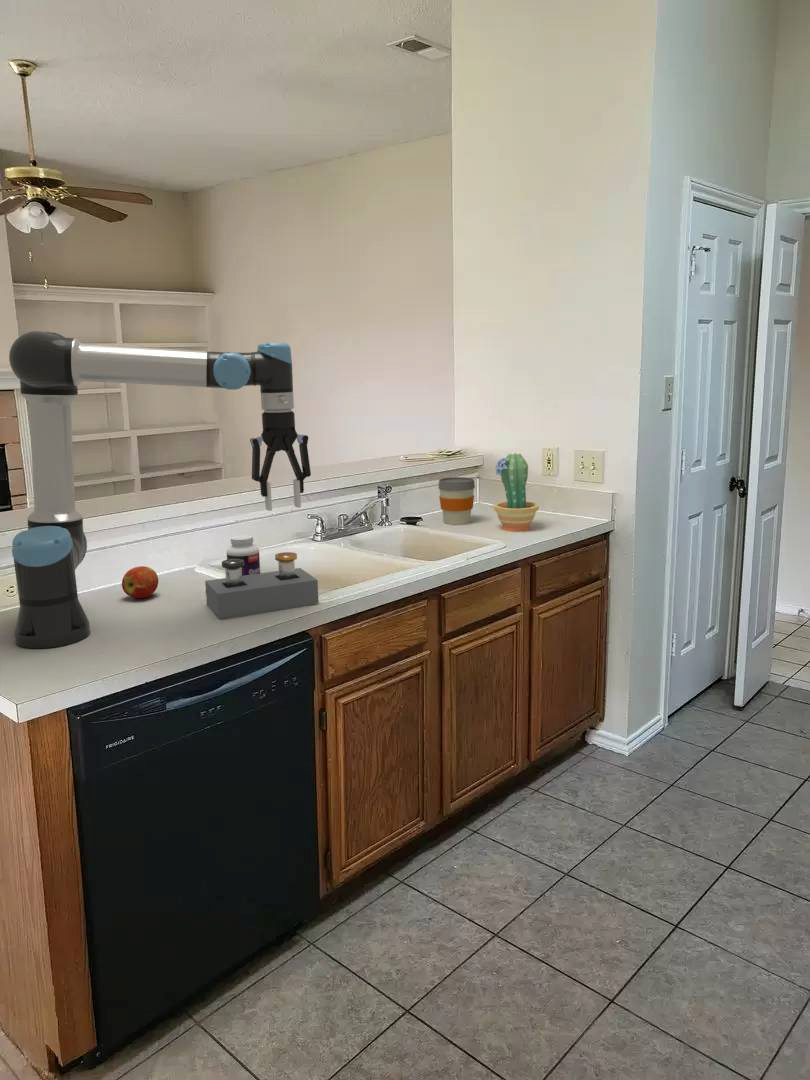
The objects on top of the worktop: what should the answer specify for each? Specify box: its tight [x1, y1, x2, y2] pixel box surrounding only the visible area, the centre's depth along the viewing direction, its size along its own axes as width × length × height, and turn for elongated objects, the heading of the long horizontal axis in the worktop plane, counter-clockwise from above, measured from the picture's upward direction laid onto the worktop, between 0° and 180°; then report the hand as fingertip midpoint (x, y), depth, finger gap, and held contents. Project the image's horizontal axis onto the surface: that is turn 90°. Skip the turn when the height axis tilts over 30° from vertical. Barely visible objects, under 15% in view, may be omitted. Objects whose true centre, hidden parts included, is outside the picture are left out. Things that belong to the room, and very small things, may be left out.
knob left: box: [221, 559, 244, 588], centre depth 199 cm, size 5×5×8 cm
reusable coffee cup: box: [438, 476, 476, 526], centre depth 292 cm, size 13×13×15 cm
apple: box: [121, 565, 159, 599], centre depth 211 cm, size 8×8×8 cm
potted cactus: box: [493, 453, 540, 532], centre depth 279 cm, size 15×15×25 cm
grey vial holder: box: [204, 567, 320, 620], centre depth 203 cm, size 24×13×6 cm, turn 115°
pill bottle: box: [226, 534, 261, 576], centre depth 212 cm, size 8×8×14 cm
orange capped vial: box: [274, 551, 298, 581], centre depth 204 cm, size 5×5×8 cm
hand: (283, 508), depth 201 cm, fingers open, 6 cm apart
